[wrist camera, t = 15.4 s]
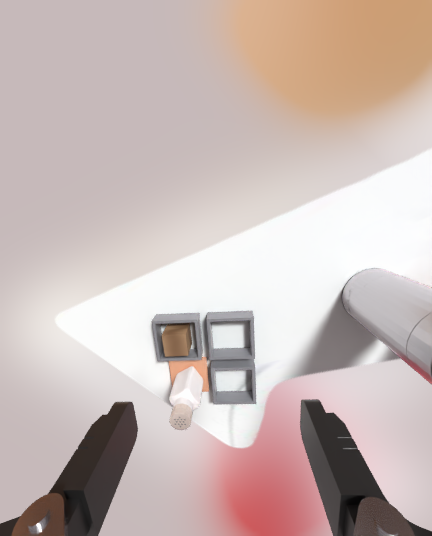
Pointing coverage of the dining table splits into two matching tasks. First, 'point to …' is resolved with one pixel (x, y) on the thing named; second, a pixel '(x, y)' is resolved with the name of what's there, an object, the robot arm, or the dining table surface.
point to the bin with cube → (177, 318)
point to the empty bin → (231, 352)
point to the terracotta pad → (182, 365)
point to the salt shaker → (185, 397)
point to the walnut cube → (177, 339)
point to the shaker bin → (233, 396)
